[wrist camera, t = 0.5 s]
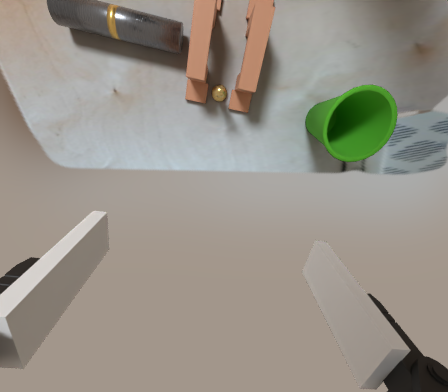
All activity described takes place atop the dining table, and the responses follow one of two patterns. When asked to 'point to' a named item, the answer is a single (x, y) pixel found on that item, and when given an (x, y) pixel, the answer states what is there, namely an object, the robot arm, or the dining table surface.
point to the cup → (354, 122)
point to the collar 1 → (200, 48)
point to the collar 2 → (252, 53)
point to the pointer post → (219, 93)
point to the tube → (118, 23)
